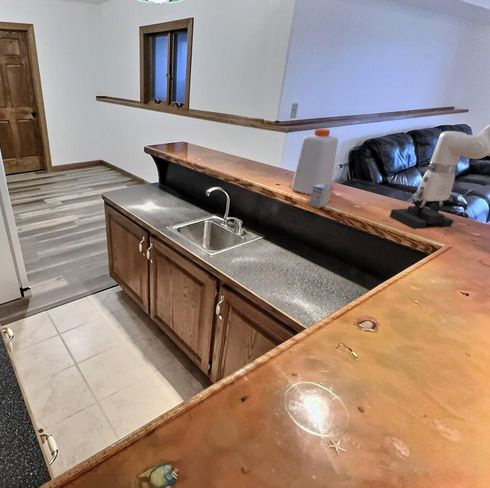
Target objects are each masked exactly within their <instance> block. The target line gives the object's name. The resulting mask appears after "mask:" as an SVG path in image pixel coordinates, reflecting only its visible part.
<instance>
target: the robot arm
mask: <svg viewBox="0 0 490 488" xmlns="http://www.w3.org/2000/svg"><path fill="white" fill-rule="evenodd" d="M489 155H490V123H489V124H488V125H486V126H485V127H484V128H483V129H482V130H480V131H479V132H478V133H477V134H467V133H465V132H463V131H457V130H445V131H443V132H441V133H440V134H439V137H438V139H437V142H436V145H435V148H434V151H433V153H432V156H431V159H430V162H429V165H428V166H427V170H426V171H425V173H424V175H423V176H422V178H421V180H420V183H419V185H418V187H417V190H416V192H415V193H413V195H411V196H410V198H411V200H412V202H413V206H415V208H414V211H413V214H412V215H413V216H416V217H418V218H420V217H421V214H422V212H423V209H424V208H423V206H424V207H425V205H426V203H427V202H432V203H431V205H430V207H429V209H431V210H434V211H436V212H440V209H441V207H443V205H444V204H445V203H446V202H447V201H448V200H449V199H450V198H451V197H452V195H451V193H452V191H453V187H454V184H455V178H456V172H455V171H456V169H457V166H458V163H459V160H460V158H461V157H462V158H466V159H472V160H480V159H483V158H485V157H487V156H489Z"/></svg>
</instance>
